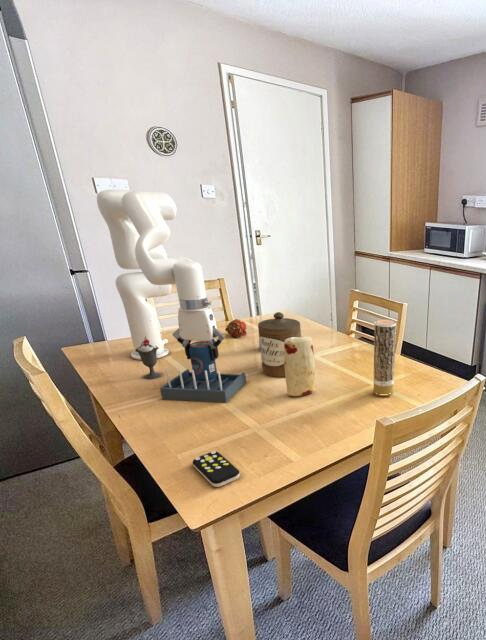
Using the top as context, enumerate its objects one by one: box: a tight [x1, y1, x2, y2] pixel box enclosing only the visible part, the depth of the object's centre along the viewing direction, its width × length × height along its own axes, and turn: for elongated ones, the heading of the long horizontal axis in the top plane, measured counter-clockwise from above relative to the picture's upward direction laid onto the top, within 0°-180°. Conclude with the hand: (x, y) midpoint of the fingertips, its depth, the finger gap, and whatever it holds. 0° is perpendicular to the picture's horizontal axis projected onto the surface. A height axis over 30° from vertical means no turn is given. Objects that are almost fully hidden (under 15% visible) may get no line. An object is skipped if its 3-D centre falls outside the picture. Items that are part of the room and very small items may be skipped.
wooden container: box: [257, 311, 302, 378], centre depth 150 cm, size 15×15×22 cm
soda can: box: [189, 341, 218, 382], centre depth 131 cm, size 7×7×12 cm
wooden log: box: [373, 319, 397, 398], centre depth 135 cm, size 7×7×25 cm
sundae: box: [134, 336, 162, 380], centre depth 139 cm, size 7×7×15 cm
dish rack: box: [159, 368, 247, 403], centre depth 133 cm, size 16×20×10 cm
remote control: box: [192, 450, 241, 488], centre depth 95 cm, size 6×13×2 cm, turn 48°
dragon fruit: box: [225, 318, 247, 338], centre depth 186 cm, size 8×8×12 cm
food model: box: [284, 336, 316, 397], centre depth 132 cm, size 10×7×20 cm
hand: (202, 358), depth 131 cm, fingers closed on soda can, 7 cm apart
